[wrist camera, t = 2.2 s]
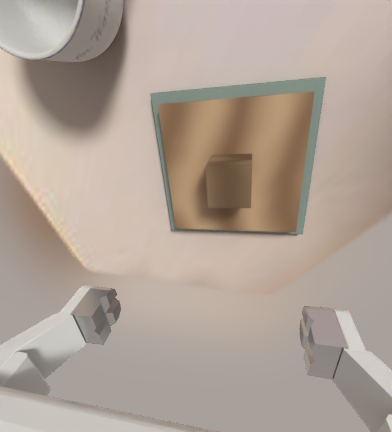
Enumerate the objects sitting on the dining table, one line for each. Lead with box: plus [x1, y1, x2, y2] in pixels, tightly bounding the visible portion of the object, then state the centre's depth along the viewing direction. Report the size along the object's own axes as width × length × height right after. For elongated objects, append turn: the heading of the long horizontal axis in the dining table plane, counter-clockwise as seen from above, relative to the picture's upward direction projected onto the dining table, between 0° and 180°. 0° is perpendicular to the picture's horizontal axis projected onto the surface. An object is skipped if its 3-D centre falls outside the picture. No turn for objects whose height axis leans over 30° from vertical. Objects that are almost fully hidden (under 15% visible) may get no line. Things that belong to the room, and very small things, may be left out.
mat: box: [151, 77, 326, 234], centre depth 27 cm, size 16×16×1 cm
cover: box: [158, 91, 315, 232], centre depth 24 cm, size 14×14×5 cm
